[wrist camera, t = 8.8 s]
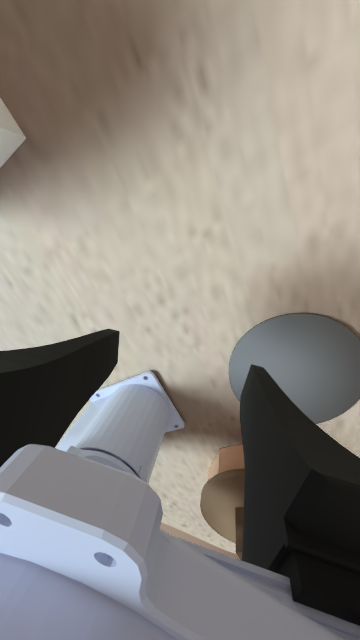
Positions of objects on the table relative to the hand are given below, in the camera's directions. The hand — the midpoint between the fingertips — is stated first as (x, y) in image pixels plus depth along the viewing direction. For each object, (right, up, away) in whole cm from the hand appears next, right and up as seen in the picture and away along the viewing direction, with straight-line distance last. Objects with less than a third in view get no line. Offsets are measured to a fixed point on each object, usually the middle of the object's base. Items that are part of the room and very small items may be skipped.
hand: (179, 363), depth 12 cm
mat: (+11, -3, +9) cm, 15 cm away
